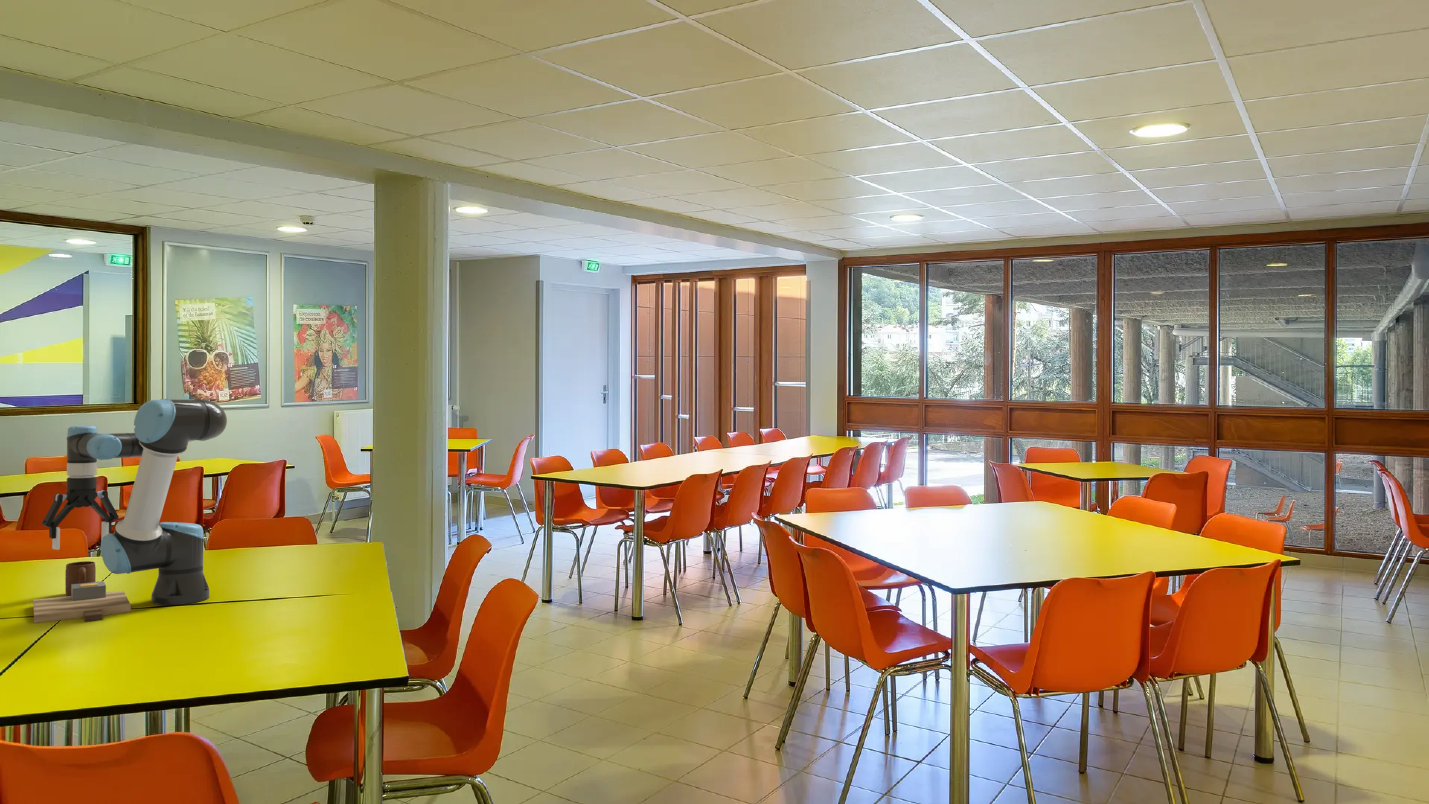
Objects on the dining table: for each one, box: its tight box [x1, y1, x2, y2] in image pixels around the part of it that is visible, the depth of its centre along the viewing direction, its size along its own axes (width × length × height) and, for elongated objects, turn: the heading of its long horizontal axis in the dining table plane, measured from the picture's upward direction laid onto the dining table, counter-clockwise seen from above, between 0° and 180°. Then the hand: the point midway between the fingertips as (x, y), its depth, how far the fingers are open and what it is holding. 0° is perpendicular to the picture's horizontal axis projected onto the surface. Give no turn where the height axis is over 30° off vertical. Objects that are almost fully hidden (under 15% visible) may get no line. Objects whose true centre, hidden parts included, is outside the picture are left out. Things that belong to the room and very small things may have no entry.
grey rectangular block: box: [71, 580, 107, 601], centre depth 269 cm, size 7×8×4 cm
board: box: [32, 590, 132, 624], centre depth 260 cm, size 28×22×2 cm
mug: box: [64, 560, 97, 596], centre depth 280 cm, size 12×8×9 cm, turn 38°
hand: (81, 546), depth 280 cm, fingers open, 13 cm apart
